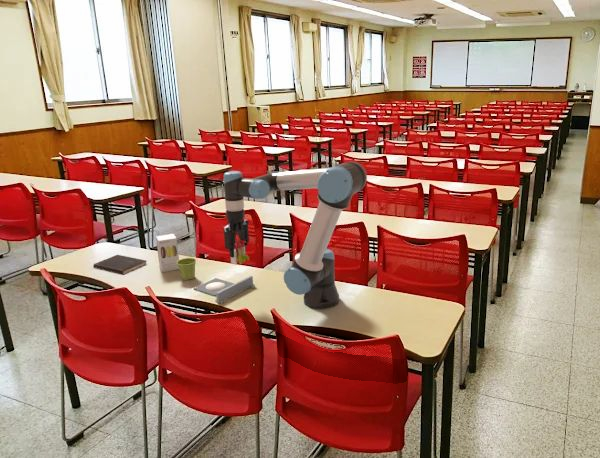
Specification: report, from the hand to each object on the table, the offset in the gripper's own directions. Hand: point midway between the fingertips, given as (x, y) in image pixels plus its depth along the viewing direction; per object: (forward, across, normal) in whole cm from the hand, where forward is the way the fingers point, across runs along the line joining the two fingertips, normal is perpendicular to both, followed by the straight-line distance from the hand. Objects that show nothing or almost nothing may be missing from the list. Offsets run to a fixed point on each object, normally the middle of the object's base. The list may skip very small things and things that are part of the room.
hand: (238, 261), depth 209 cm
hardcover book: (+20, +4, -84) cm, 86 cm away
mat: (+18, -3, -18) cm, 26 cm away
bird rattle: (0, 0, 0) cm, 1 cm away
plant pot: (+18, -4, -38) cm, 43 cm away
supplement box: (+19, -8, -58) cm, 61 cm away
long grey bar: (+17, -2, -6) cm, 18 cm away
